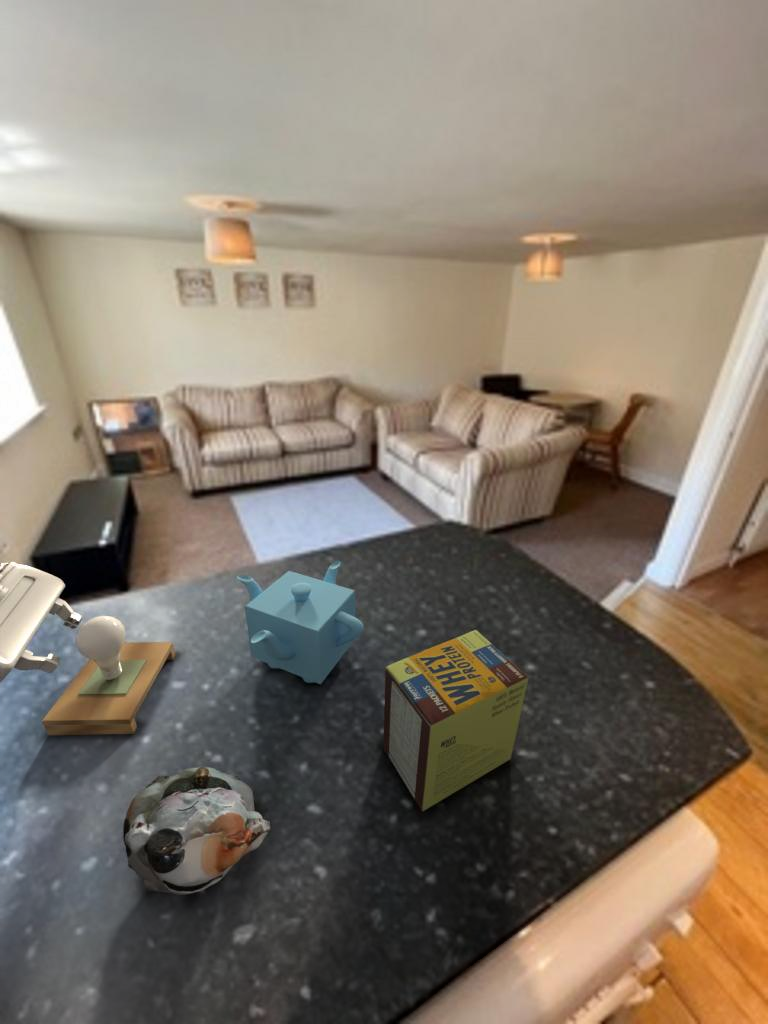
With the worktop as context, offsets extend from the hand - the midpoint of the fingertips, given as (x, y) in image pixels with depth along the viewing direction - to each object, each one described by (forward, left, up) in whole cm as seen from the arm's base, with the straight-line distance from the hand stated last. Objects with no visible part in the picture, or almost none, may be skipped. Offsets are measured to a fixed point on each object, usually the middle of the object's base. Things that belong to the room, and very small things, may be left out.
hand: (68, 643), depth 66 cm
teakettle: (+32, +9, -11) cm, 35 cm away
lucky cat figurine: (+25, -22, -11) cm, 35 cm away
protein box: (+55, -11, -11) cm, 58 cm away
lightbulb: (+4, +1, -8) cm, 9 cm away
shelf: (+4, +1, -11) cm, 12 cm away
